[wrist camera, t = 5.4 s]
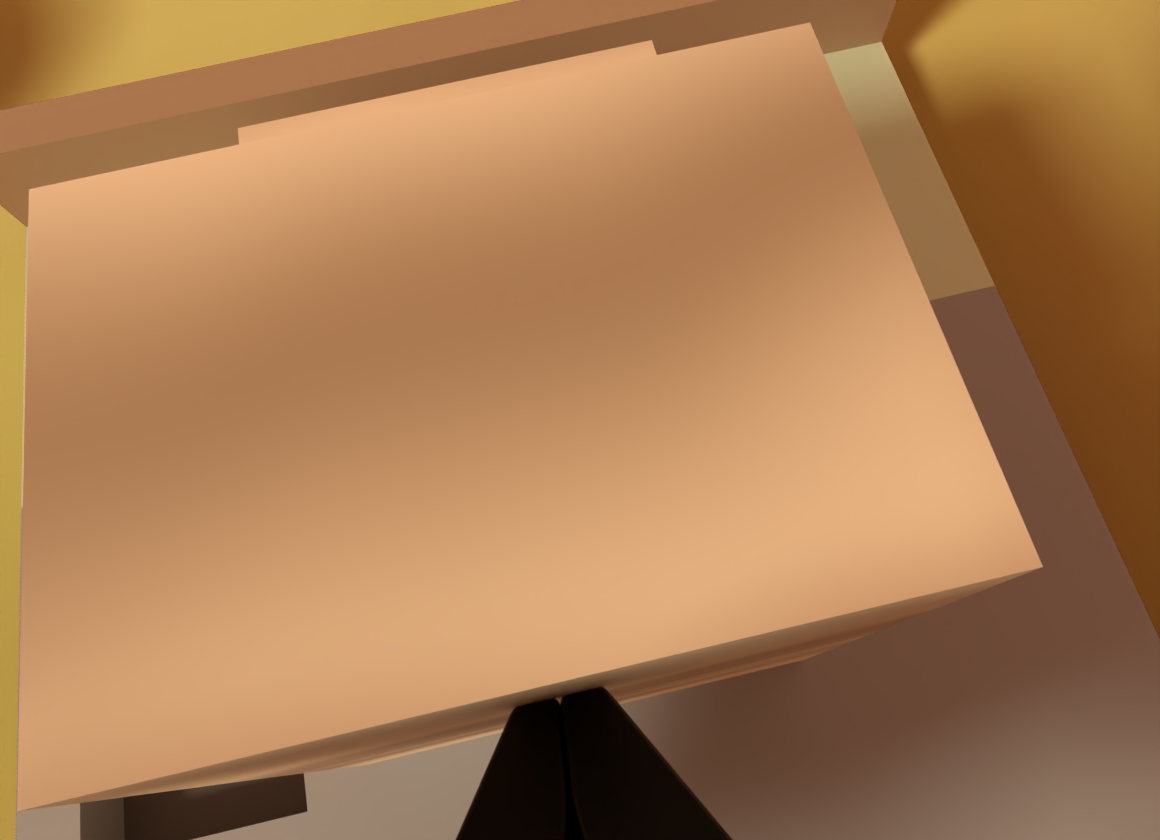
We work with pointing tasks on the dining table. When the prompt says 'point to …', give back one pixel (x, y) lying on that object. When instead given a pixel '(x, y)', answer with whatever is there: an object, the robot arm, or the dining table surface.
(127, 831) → the board
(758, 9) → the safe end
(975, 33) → the dining table surface
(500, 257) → the birch block
